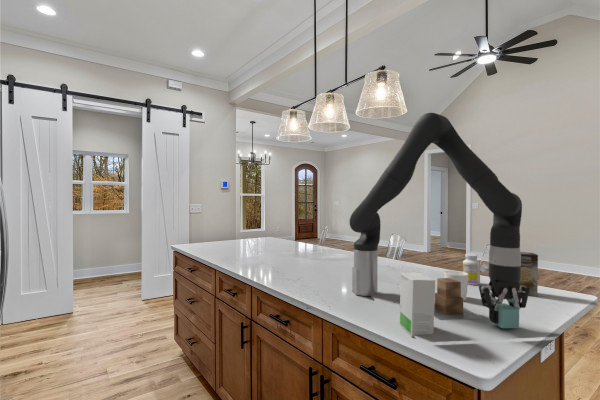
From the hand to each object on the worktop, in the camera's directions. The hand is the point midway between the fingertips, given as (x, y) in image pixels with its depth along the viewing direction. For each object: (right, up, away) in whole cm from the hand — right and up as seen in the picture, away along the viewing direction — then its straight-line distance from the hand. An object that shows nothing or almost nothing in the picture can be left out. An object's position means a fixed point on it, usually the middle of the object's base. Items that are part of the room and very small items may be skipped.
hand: (503, 322), depth 85 cm
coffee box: (+32, -3, +36) cm, 48 cm away
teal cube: (0, 0, 0) cm, 0 cm away
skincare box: (-25, -2, -1) cm, 25 cm away
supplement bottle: (+19, -3, +50) cm, 53 cm away
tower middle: (-9, +4, +13) cm, 16 cm away
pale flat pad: (-9, -2, +13) cm, 16 cm away
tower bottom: (-9, -1, +13) cm, 16 cm away
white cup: (0, -3, +27) cm, 27 cm away
